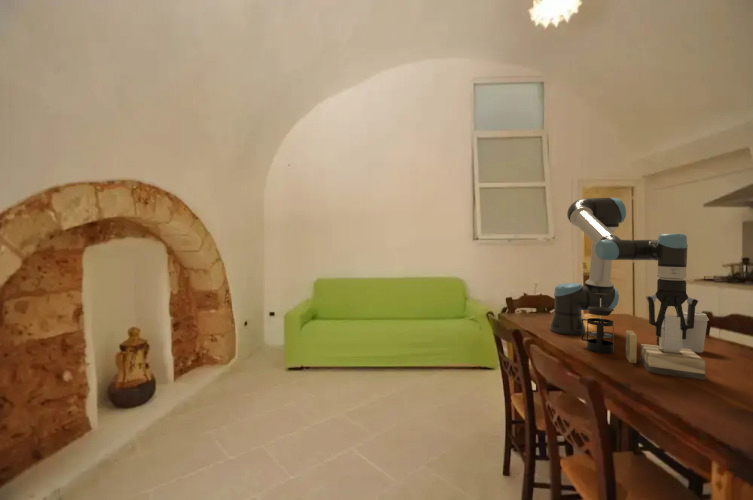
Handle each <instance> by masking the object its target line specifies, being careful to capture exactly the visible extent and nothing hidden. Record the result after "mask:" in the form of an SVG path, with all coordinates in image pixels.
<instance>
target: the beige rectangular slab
mask: <svg viewBox="0 0 753 500" xmlns="http://www.w3.org/2000/svg"><path fill="white" fill-rule="evenodd" d="M637 338H638V335H637V334H636V333H635V332H634V330H628V329H626V330H625V357H626V359H627V360H628V362H629V363H631V364H637V347H638V342H637V341H638V340H637Z"/></svg>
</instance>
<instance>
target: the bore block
mask: <svg viewBox="0 0 753 500" xmlns="http://www.w3.org/2000/svg"><path fill="white" fill-rule="evenodd" d="M639 356H640V361H641V363H642V364H643V366H644V367H645V369H646V371H648V373H652V374H658V375H659V374H660V375H666V376H672V377H680V378H687V379H694V380H700V381H706V360H705V359H703V358H702V357H700V356H699V355H698V354H697V352H693V351H692V350H691V349H683V348H682V349H680V353H674V352H666V351H664V350H663V349H662V348H661V346H657V344H656V345H655V344H647V343H646V344H645V343H640V355H639Z"/></svg>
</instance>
